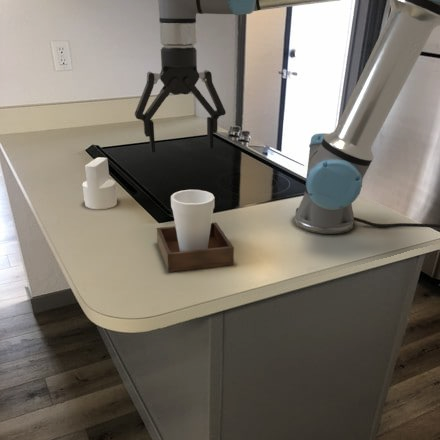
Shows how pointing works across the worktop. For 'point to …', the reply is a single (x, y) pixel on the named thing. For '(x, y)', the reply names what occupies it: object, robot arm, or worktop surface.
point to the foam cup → (192, 218)
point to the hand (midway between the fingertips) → (181, 149)
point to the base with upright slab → (99, 185)
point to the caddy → (195, 259)
